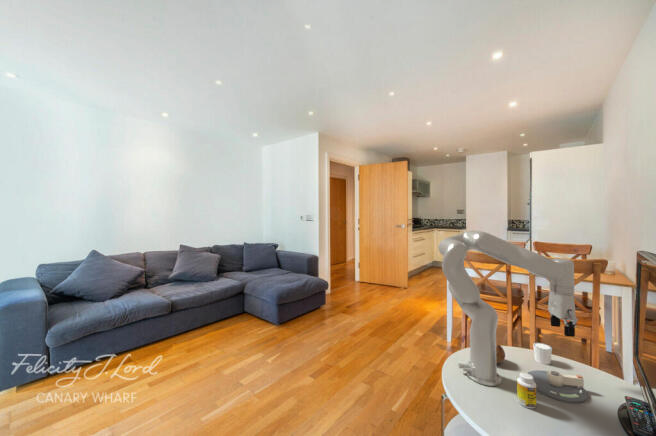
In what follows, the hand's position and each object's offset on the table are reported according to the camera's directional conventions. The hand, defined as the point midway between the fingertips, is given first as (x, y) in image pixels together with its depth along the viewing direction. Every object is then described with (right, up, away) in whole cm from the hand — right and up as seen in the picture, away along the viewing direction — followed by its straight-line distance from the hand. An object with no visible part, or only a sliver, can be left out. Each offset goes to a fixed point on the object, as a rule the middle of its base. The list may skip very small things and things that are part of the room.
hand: (562, 330), depth 107 cm
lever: (-3, -19, -5) cm, 20 cm away
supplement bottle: (-24, -21, -13) cm, 35 cm away
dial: (-7, -20, -4) cm, 22 cm away
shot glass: (+3, -20, +14) cm, 25 cm away
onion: (-19, -21, +15) cm, 32 cm away
